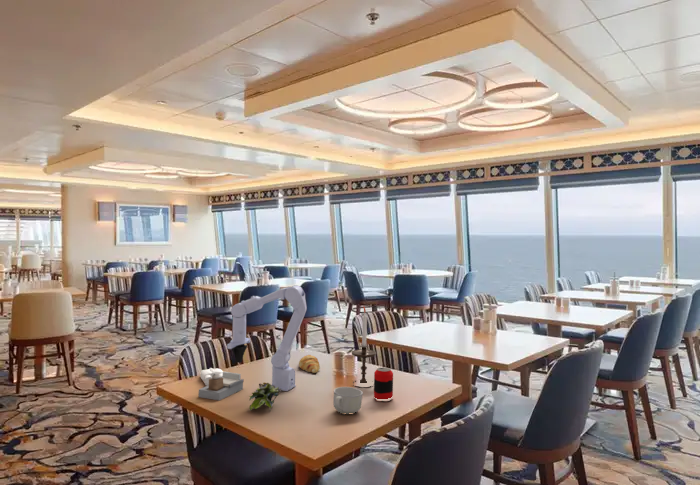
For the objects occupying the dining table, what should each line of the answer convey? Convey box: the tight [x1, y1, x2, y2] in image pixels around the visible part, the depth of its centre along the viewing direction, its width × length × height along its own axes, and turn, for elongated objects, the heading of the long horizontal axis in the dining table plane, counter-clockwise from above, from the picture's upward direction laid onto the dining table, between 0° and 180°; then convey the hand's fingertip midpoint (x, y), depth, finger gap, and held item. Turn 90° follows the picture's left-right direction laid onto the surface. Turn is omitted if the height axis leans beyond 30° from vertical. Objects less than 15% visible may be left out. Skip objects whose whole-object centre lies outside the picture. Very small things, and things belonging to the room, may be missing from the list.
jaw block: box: [209, 375, 223, 391], centre depth 196 cm, size 4×4×8 cm
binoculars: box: [199, 367, 224, 387], centre depth 217 cm, size 10×16×5 cm, turn 27°
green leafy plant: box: [248, 382, 282, 412], centre depth 182 cm, size 11×11×12 cm
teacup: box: [332, 386, 364, 414], centre depth 179 cm, size 14×11×8 cm
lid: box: [222, 371, 242, 387], centre depth 203 cm, size 8×8×3 cm
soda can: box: [373, 367, 394, 399], centre depth 195 cm, size 8×8×12 cm
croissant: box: [298, 354, 320, 374], centre depth 240 cm, size 21×10×8 cm
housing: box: [198, 376, 244, 401], centre depth 199 cm, size 11×16×4 cm, turn 158°
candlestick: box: [351, 306, 377, 383], centre depth 215 cm, size 11×11×35 cm
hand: (238, 362), depth 210 cm, fingers closed
